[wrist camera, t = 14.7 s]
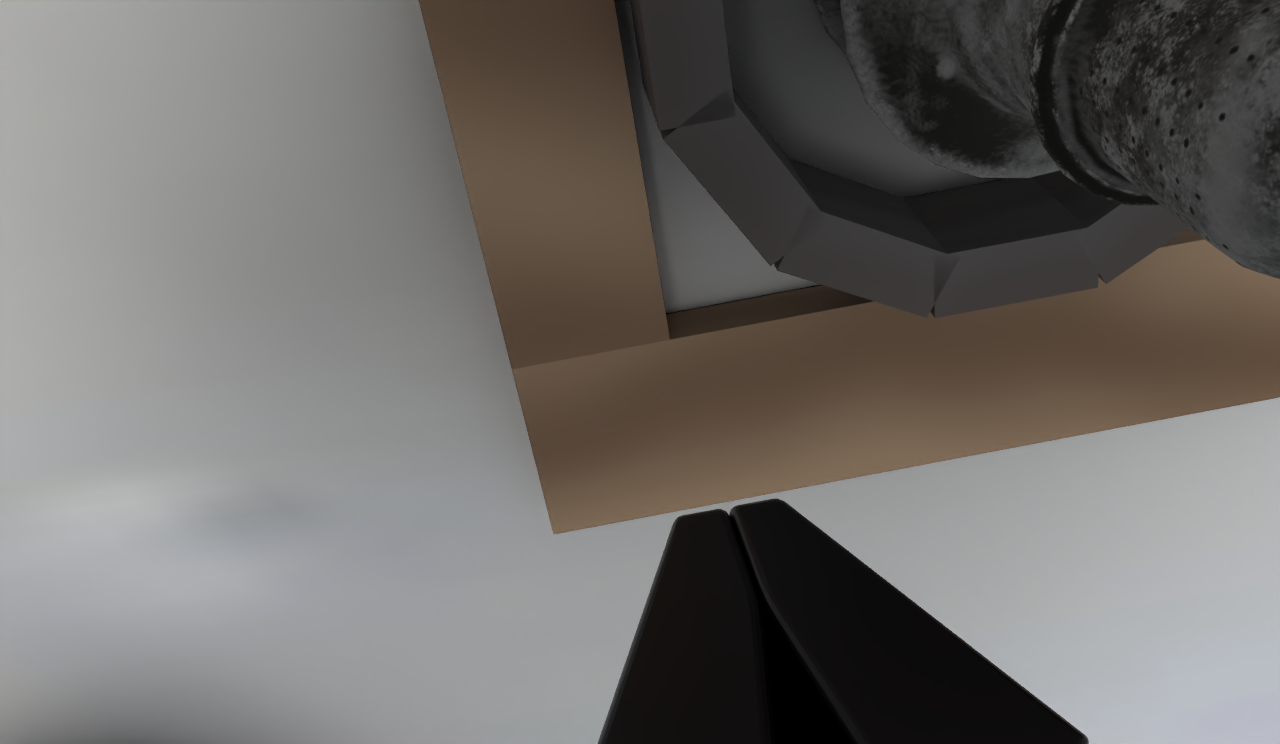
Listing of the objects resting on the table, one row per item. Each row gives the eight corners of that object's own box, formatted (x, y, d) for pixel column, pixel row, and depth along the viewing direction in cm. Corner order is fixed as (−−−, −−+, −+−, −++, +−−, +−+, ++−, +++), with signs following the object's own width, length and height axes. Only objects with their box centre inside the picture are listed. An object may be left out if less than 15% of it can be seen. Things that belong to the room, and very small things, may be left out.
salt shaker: (1158, -283, 18) (2065, -258, 7) (1110, 88, 21) (1705, 473, 10) (784, -245, 17) (1186, -164, 7) (790, 126, 20) (1079, 557, 10)
